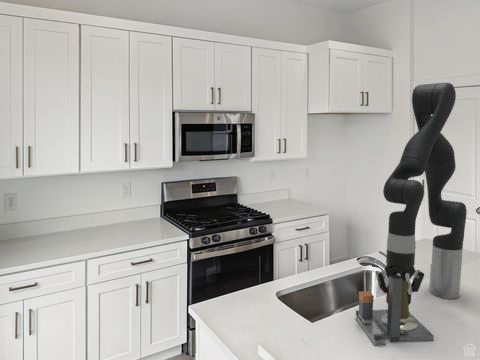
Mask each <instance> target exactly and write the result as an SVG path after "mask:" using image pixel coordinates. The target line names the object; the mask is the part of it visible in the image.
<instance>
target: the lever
mask: <svg viewBox="0 0 480 360" xmlns="http://www.w3.org/2000/svg"><path fill="white" fill-rule="evenodd" d="M374 299H375V297H374V295H373V293H372V292H371V291H370V290H369V291H368V290H367V291H366V290H363V291H359V292H358V300H359V301H358V310H359V312H358V316H359V317H360V319H361V320H362V322H363V323H364V324H374V321H373V319H372V316H373V310H374V302H375V301H374Z"/></svg>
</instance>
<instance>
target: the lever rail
mask: <svg viewBox="0 0 480 360" xmlns="http://www.w3.org/2000/svg"><path fill="white" fill-rule="evenodd" d="M358 312H359V309H358V310H355V320H356V321H357V323H358V325H359V326H360V327H361V328H362V330H363V331H364V333H365V334H366V335H367V338H369V340H370V341H371V343H372V345H374V346H386V343H387V337H386V335H385V334H384V333H381V332H380V331H379V330H378V328H377V327H376V326H375V324H374V323H373V324H364V323H363V322H362V320H361V319H360V317H359V316H358Z"/></svg>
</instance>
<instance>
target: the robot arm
mask: <svg viewBox="0 0 480 360" xmlns="http://www.w3.org/2000/svg"><path fill="white" fill-rule="evenodd" d="M455 89H456V88H455V87H454V85H453V84H452V83H450V82H437V83H426V84H418V85H416V86H415V87H414V88H413V91H412V94H411V95H412V96H411V104H412V110H413V114H414V117H415V118H414V119H415V122H416V126H417V130H418V131H416V132H415V133H414V134H413V136H411V138H409V140H408V141H407V142H406V145H405V146H404V149H403V152H402V155H401V158H400V160H399V163H398V164H397V166H396V167H395V169H394V170H393V171H392V173H391V174H390V176H388V178H387V179H386V181H385V182H384V183H385V184H384V186H383V190H382V191H383V197H384V199H385V200H386V201H387V202H389V203H392V204H398V205H405V207H404V209H403V210H398V211H392V212H391V213H390V214H389V217H388V229H387V231H388V234H387V237H386V238H387V239H386V257H385V259H386V265H385V267H384V270H381V271H378V270H376V271H375V277H376V279H377V283H378V286H379V289H380V290H381V291H382V292H383V293H384V294H386V300H385V301H386V303H387V304H388V292H389V275H399V276H400V277H401V278H402V280H406V281H407V282H408V283H409V289H408V290H407V297H408V307H409V306H410V305H411V304H412V293H418V292H419V290H420V288H421V285H422V283H423V280H424V278H425V277H424V276H425V273H424V272H423V271H421V270H420V269H416V268H415V264H416V263H415V262H416V261H415V259H416V221H417V217H418V213H419V212H420V211H419V210H420V207H421V205H422V202H423V199H424V196H425V188H424V186H423V183H421V181H420V180H419V181H418V180H416V179H415V180H414V179H411V178H415V177H416V178H417V177H419V176H422V175H424V174H425V181H426V188H427V200H428V201H427V202H428V218H429V220H430V222H431V224H432V225H434V226H436V227H444V228H449V229H450V232H449V233H446V234H445V233H444V234H439V235H435V236H434V237H433V238H432V252H431V263H430V269H429V270H430V271H429V276H430V277H429V287H428V288H429V292H430V293H431V294H432V296H433V295H434V296H436V297H438V298H441V299H447V300H449V299H450V300H453V299H459V298H460V293H461V292H460V291H461V281H462V279H461V277H462V267H463V266H462V265H463V264H462V263H463V248H464V238H465V229H466V222H467V214H468V213H467V212H468V211H467V207H466V204H465V203H464V202H461V201H452V200H444V199H442V191H443V189H444V188H445V186H446V185H447V183H448V182H449V181H450V180H451V178H452V177H453V175H454V173H455V171H456V169H457V166H456V157H455V150H454V148H453V145H452V144H451V142H449V140H448V139H447V138H446V137H445V136H444V134H443V133H442V130H443V129H444V126H445V124H446V123H447V121H448V119H449V117H450V115H451V113H452V111H453V108H454V107H455V104H456V96H457V95H456V90H455ZM386 276H387V277H388V279H387V281H386V280H385V279H386ZM411 278H413V279H412V281H411Z"/></svg>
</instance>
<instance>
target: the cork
mask: <svg viewBox="0 0 480 360" xmlns="http://www.w3.org/2000/svg"><path fill="white" fill-rule="evenodd" d="M408 289H409V283H408V282H407V281H406V280H402V297H401V319H407V318H409V312H410V308H409V306H408V297H407V290H408ZM387 314H388V311H387Z"/></svg>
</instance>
